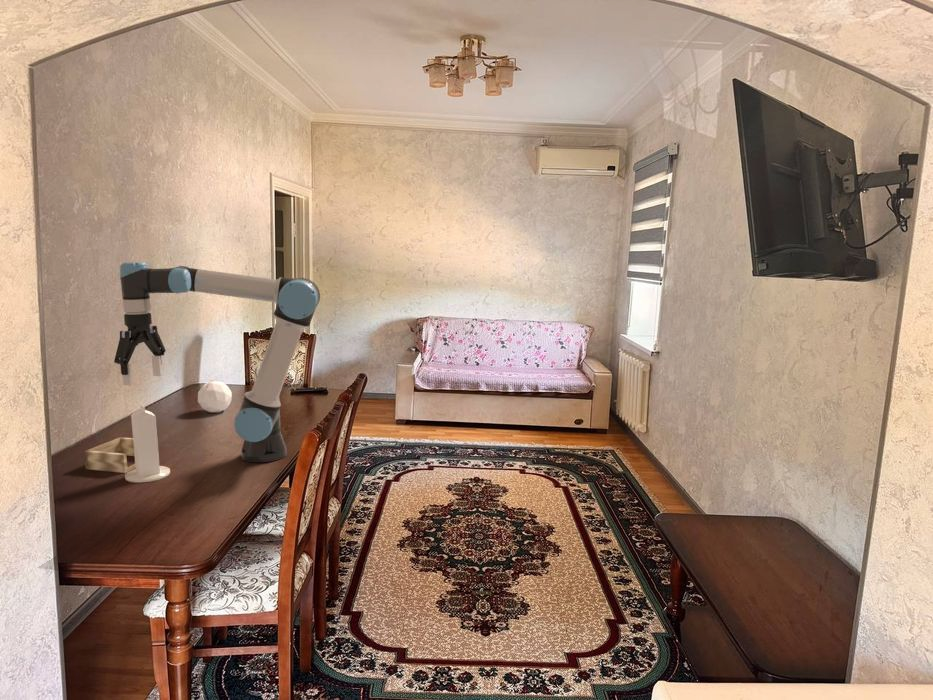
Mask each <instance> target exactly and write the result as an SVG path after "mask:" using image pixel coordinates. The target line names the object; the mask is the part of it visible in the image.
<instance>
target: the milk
mask: <svg viewBox="0 0 933 700" xmlns="http://www.w3.org/2000/svg"><path fill="white" fill-rule="evenodd" d="M130 417H131V428H132V429H131V430H132V438H133V444H134V456H133V457H134V464H135V468H134V469H136V473H137V474H138V476H139V477H144V476H149V475H154V474H159V473H160V467H159V466H160V457H159V456H160V455H159V442H158V430H157V418H156V415H155V414H154V413H153V412H152V411H149V410H148V409H147V410H146V408H145V406H144V405H143V404H140V408H139V409H138V410H136V411H135V412H133V413H132V414H131V415H130Z"/></svg>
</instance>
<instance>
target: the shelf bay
mask: <svg viewBox="0 0 933 700" xmlns="http://www.w3.org/2000/svg"><path fill="white" fill-rule="evenodd" d="M83 455H84V464H85V470H92V471H93V470H94V471H102V472H112V473H122V474H126V473H128V472H129V471H132V470H134V469H136V468H135V463H133V464H130V465H129V466H128V460H127V458H128V457H130V456H131V457H135V456H134V444H133V437H125V436H124V437H121V436H119V437H116V438H115V439H112V440H110V441H107V442H104V443H102V444H98V445H97V446H93V447H92V448H90V449H86V450H84V451H83ZM127 456H128V457H127Z"/></svg>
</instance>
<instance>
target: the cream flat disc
mask: <svg viewBox="0 0 933 700" xmlns="http://www.w3.org/2000/svg"><path fill="white" fill-rule="evenodd" d="M159 467H160V473H159V474H154V475H149V476H144V477H139V476H138V474H137V473H136V468H134V469H132V470H130V471H128V472H126V473H124V480H125V481H126V482H129V483H137V484H139V483H141V484H142V483H151V482H155V481H159V480H161V479H164V478H166V477H168V476H169V475H170V474H171V469H170V468H169V467H167V466H164V465H159Z"/></svg>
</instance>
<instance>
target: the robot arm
mask: <svg viewBox="0 0 933 700" xmlns="http://www.w3.org/2000/svg"><path fill="white" fill-rule="evenodd" d="M119 271H120V274H119V276H120V277H119V279H120V286H121V295H122V296H121V297H122V305H123V306H122V307H123V312H124V314H123V320H124V322H123V323H124V326H126V327H127V330H120V331H119V341H118V344H117V348H116V351H115V352H116V353H115V356H114V360H113V362H114V364H117V365H120V373H121V376H122V377H121V378H122V386H133V385H134V383H133V373H132V363H130V361H131V358H132V356H133V353H134V351H135V350H136V347H137V346H138V345H139V344H142V343H144V344H145V346H146V347H147V349H149V351H150V352H151V353H152V355H151V366H152V376H153V377H162V376H163V372H162V356H164V355H165V353H166V348H165V346H164V343H163V341H162V339H161V336H160V334H159V332H158V326H157V325H152V324H153V323H152V321H153V319H152V314H151V310H152V307H151V297H150V296H151V295H150V294H183V293H188V292H195V293H203V294H212V295H219V296H225V297H233V298H239V299H240V298H241V299H248V300H257V301H264V302H269V303H270V302H271V303H275V305H276V306H275V310H274V313H273V317H274V319H275V325H274V327H273V329H272V333H271V335H270V339H269V341H268V344H267V347H266V350H265V352H264V355H263V358H262V361H261V364H260V367H259V369H258V372H257V374H256V378H255V380H254V382H253V383H254V384H253V386H252V389H251V390H250V391H247V392H244V394H243V398H242V402H241V405H240V408H239V411H238V412H237V414H236V415H235V417H234V420H233V421H234V422H233V425H234V430H235V432H236V434H237V436H238V437H240V438H241V439H242V440H243V444H242V447H241V451H240V455H241V456H240V457H241V460H243V461H245V462H249V463H267V462H270V463H271V462H274V461H277V460H281V459H283V458H285V457H286V456H287V455H288V454H287V453H288V452H287V450H288V449H287V445H286V443H285V441H284V438H283V435H282V431H281V412H280V411H281V410H280V408H281V405H282V404H281V401H280V400H281V399H280V394H281V391H282V389H283V386H284V384H285V381H286V377H287V375H288V373H289V370H290V366H291V363H292V360H293V358H294V355H295V352H296V349H297V347H298V344H299V341H300V339H301V337H302V336H301V335H302V334H303V331H304V330H305V329H307V328H309V327H310V325H311V322H312V319H313V316H314V314H315V311H316V309H317V306H318V305H319V302H320V300H321V299H320V298H321V291H320V289H319V287H318V285H317V284H316V283H315V282H313V280H311V279H308V278H305V277H299V278H298V277H294V278H293V277H283V276H281V277H279V278H277V279H275V278H266V277H259V276H254V275H253V276H251V275H246V274H239V273H237V274H236V273H230V272H222V271H215V270H206V269H202V268H201V269H200V268H191V267H188V266H187V265H186V266H184V265H179V266H175V267H168V268H149V267H148V264H147V262H143V261H132V262H131V261H127V262H122V263H121V264H120V267H119Z"/></svg>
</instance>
